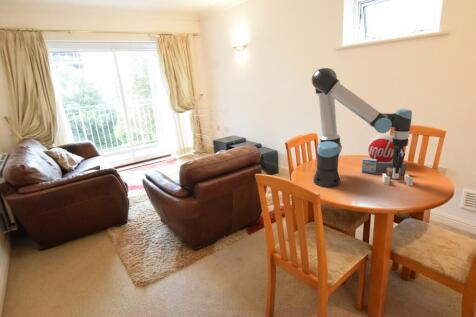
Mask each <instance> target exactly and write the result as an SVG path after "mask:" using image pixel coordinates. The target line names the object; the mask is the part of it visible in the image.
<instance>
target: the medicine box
mask: <svg viewBox="0 0 476 317" xmlns="http://www.w3.org/2000/svg"><path fill="white" fill-rule="evenodd" d="M376 163H377V159H372V158H368V157H367V158H365V157H363V158H362V165H361V173H363V174H371V175H372V174H374V175H375V174H376Z"/></svg>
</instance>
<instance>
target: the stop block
mask: <svg viewBox="0 0 476 317" xmlns="http://www.w3.org/2000/svg"><path fill="white" fill-rule="evenodd" d="M393 165H394V164H393V161H392V162H377V163H376V171H375V174H379V175H380V174H382V175H383V174H386V170H387V168H393V167H394V166H393ZM406 169H407V163H406V162H403V163H402V168H400V171H401V174H400V175H404V176H405V174H406V171H407V170H406Z"/></svg>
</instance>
